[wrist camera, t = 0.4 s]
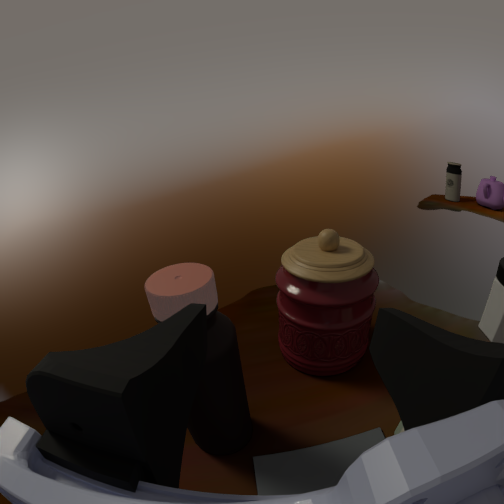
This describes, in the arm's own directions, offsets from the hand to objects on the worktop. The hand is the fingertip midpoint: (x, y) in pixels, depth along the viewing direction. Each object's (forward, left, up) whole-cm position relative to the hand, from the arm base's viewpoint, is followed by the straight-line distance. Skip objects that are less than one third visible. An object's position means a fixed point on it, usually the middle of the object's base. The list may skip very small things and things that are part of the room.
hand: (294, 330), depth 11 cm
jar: (+12, -40, -22) cm, 47 cm away
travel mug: (+91, -103, -22) cm, 139 cm away
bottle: (+9, +6, -22) cm, 24 cm away
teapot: (+77, -121, -22) cm, 145 cm away
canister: (+21, -9, -22) cm, 31 cm away
